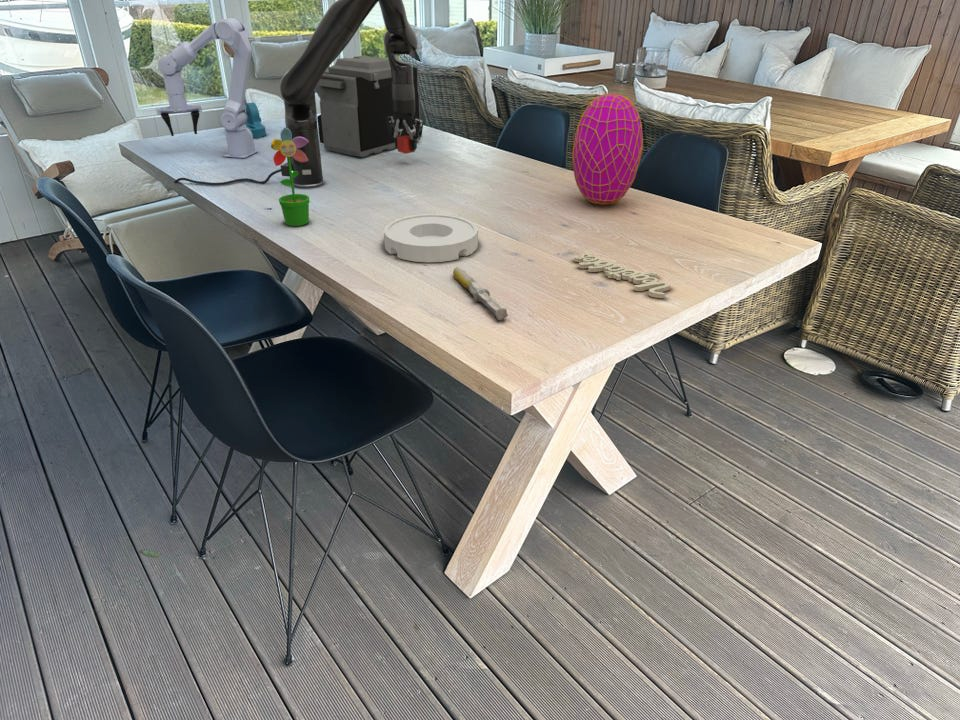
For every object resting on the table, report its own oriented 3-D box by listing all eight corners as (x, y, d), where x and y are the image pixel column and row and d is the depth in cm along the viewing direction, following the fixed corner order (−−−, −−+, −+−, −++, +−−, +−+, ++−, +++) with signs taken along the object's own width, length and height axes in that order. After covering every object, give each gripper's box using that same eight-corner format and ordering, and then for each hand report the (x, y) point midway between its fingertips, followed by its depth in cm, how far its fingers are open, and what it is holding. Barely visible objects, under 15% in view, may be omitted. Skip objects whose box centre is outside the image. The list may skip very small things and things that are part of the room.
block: (407, 149, 236) (406, 135, 234) (414, 151, 234) (413, 137, 231) (397, 151, 234) (397, 137, 232) (405, 153, 231) (404, 139, 229)
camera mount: (228, 130, 277) (223, 103, 272) (254, 127, 282) (250, 100, 277) (243, 139, 265) (238, 110, 259) (269, 136, 270) (266, 108, 264)
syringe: (449, 274, 155) (449, 263, 153) (465, 272, 156) (464, 260, 154) (490, 323, 135) (491, 310, 133) (508, 319, 136) (508, 307, 134)
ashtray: (391, 227, 181) (390, 212, 179) (479, 229, 180) (479, 214, 178) (377, 261, 161) (376, 245, 159) (476, 263, 160) (476, 247, 158)
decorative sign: (686, 282, 150) (660, 295, 144) (686, 286, 150) (659, 300, 144) (592, 249, 166) (565, 259, 160) (592, 253, 167) (565, 263, 161)
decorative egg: (611, 217, 189) (624, 103, 174) (555, 202, 201) (562, 94, 185) (647, 202, 202) (662, 94, 186) (592, 188, 213) (602, 86, 198)
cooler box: (383, 133, 276) (378, 52, 261) (425, 141, 265) (422, 56, 250) (314, 150, 251) (304, 61, 235) (358, 160, 240) (350, 67, 224)
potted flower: (284, 229, 179) (270, 130, 166) (277, 220, 185) (263, 124, 172) (319, 224, 183) (308, 127, 170) (311, 215, 188) (300, 121, 176)
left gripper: (154, 97, 229) (163, 138, 236) (199, 94, 235) (207, 135, 242) (152, 93, 235) (161, 134, 242) (197, 91, 240) (204, 131, 247)
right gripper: (428, 97, 225) (429, 149, 233) (391, 93, 231) (394, 145, 239) (415, 101, 219) (417, 154, 228) (378, 97, 225) (382, 149, 234)
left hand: (184, 134), depth 242 cm, fingers open, 7 cm apart
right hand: (406, 149), depth 234 cm, fingers closed on block, 5 cm apart
